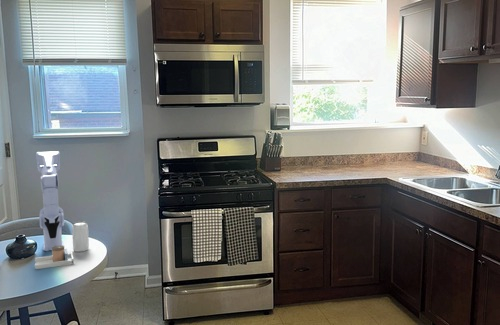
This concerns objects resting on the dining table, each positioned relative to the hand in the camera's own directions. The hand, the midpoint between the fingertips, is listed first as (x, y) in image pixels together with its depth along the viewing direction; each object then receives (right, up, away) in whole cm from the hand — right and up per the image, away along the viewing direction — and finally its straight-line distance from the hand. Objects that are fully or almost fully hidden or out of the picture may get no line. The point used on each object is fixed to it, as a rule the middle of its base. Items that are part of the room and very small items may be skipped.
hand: (52, 235), depth 181 cm
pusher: (+7, -10, -3) cm, 13 cm away
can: (+8, -8, +11) cm, 15 cm away
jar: (+4, -10, -4) cm, 12 cm away
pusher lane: (+3, -10, -5) cm, 12 cm away
